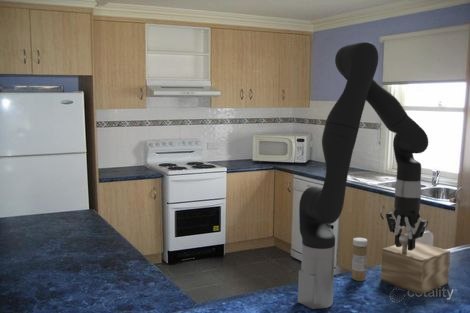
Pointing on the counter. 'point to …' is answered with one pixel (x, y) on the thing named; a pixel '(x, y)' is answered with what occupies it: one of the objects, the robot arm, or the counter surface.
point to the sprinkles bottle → (359, 259)
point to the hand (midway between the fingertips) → (404, 248)
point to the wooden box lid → (416, 250)
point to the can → (426, 238)
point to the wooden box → (415, 272)
